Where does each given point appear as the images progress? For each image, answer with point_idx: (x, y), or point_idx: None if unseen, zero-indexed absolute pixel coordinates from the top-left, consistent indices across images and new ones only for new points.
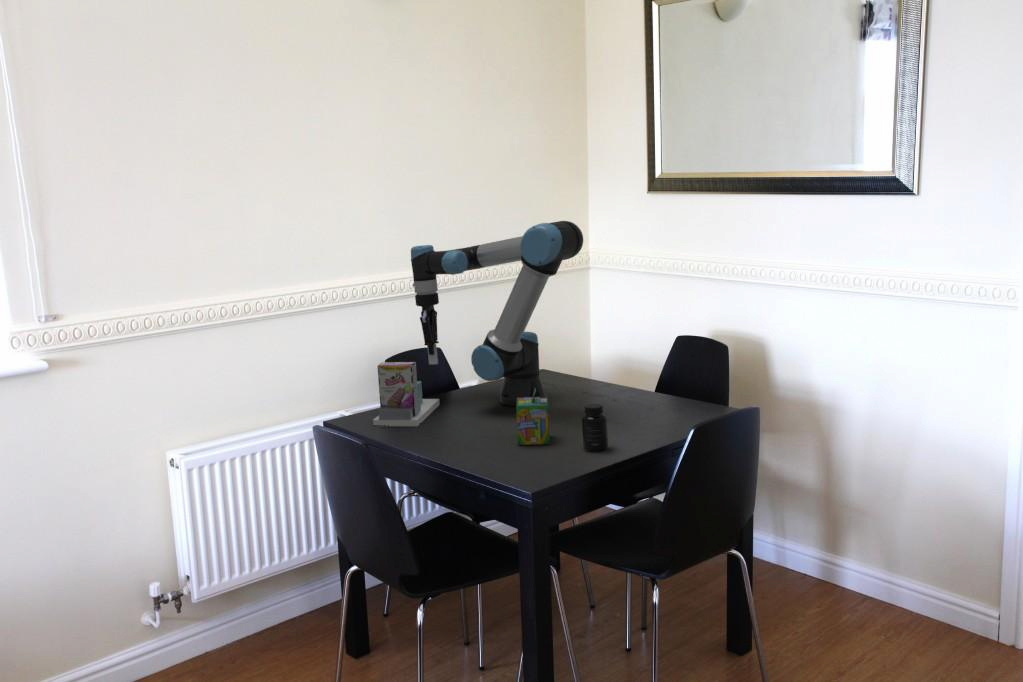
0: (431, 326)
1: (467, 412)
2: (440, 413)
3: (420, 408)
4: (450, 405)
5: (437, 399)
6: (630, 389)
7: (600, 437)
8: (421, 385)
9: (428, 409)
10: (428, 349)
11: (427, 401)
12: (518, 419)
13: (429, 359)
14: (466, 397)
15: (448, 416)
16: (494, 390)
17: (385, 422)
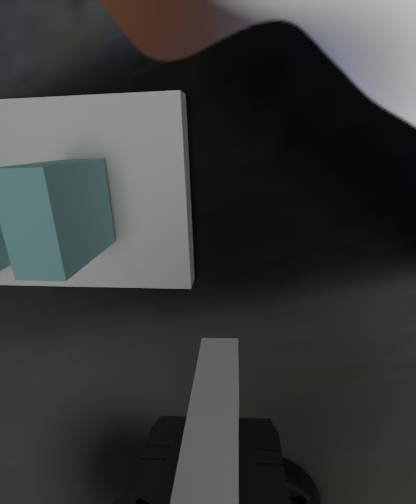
0: None
1: (108, 382)
2: (82, 307)
3: (4, 266)
4: (188, 317)
5: (180, 284)
6: None
7: None
8: (77, 270)
9: (38, 285)
10: (180, 458)
11: (144, 252)
12: None
13: (197, 371)
14: (306, 349)
15: (54, 338)
16: (406, 421)
17: None
